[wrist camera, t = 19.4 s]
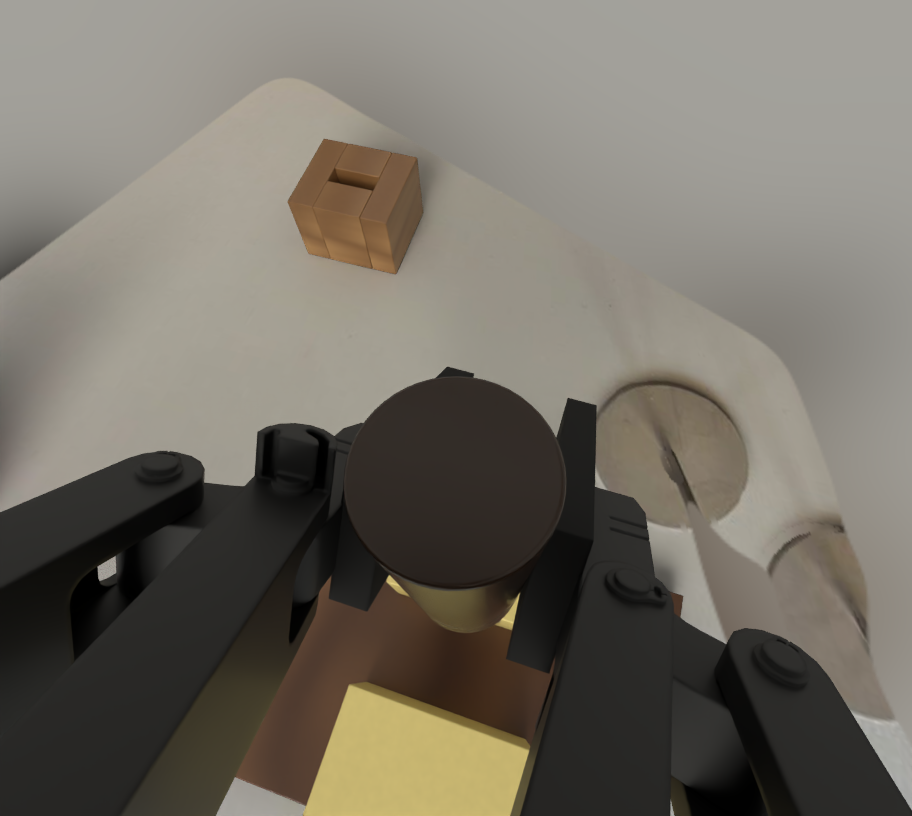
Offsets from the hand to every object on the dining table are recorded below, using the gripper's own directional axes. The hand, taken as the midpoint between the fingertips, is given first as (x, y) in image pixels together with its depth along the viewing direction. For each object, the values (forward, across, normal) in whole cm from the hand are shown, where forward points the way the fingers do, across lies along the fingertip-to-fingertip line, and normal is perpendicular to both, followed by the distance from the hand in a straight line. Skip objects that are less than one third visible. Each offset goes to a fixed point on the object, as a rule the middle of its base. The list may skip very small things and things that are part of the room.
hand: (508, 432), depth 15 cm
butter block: (+4, 0, -19) cm, 19 cm away
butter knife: (+3, 0, -9) cm, 9 cm away
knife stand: (+26, -15, +2) cm, 30 cm away
